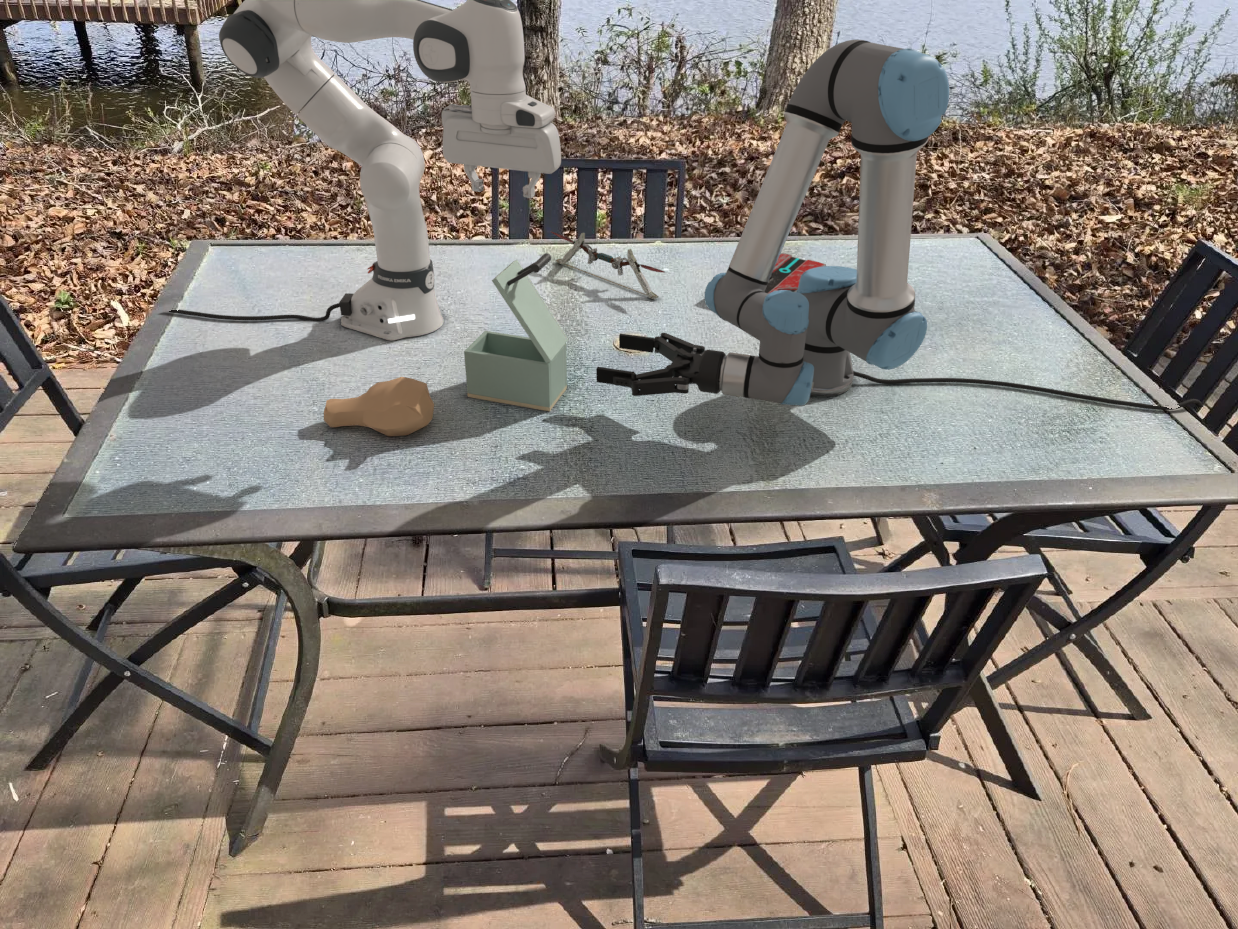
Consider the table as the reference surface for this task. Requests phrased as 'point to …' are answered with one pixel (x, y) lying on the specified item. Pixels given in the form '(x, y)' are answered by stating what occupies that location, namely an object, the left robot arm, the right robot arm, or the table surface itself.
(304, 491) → the table surface
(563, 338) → the lid
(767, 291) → the gun
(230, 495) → the table surface
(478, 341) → the chest
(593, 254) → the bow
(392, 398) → the squash
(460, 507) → the table surface
